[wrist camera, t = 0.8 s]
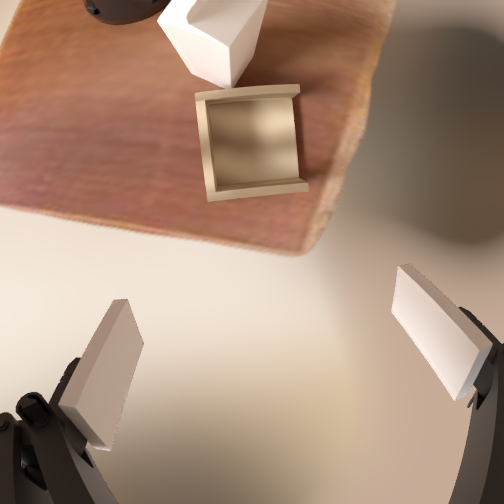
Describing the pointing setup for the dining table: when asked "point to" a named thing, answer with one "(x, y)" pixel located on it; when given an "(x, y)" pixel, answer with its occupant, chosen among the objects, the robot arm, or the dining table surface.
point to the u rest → (249, 141)
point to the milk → (214, 36)
